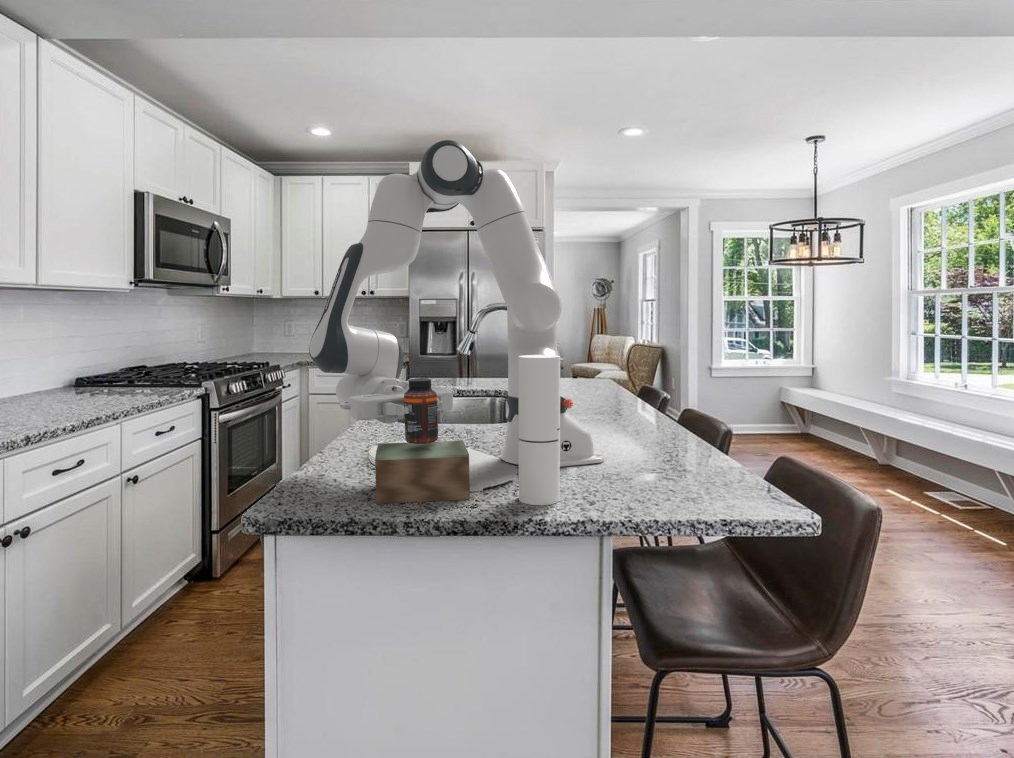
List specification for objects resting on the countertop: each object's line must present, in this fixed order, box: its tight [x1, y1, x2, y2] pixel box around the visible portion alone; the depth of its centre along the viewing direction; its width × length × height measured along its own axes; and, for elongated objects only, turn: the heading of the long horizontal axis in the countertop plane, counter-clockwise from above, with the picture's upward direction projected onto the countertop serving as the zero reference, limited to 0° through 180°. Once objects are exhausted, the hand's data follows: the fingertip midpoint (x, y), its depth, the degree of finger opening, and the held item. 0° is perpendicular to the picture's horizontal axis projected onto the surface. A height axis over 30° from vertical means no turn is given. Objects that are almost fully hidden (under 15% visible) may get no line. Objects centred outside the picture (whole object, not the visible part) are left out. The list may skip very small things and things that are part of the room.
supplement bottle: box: [404, 377, 439, 444], centre depth 115 cm, size 6×6×11 cm
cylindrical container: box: [518, 355, 561, 506], centre depth 110 cm, size 7×7×25 cm
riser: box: [374, 440, 471, 505], centre depth 116 cm, size 16×12×8 cm
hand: (423, 408), depth 114 cm, fingers closed on supplement bottle, 6 cm apart
